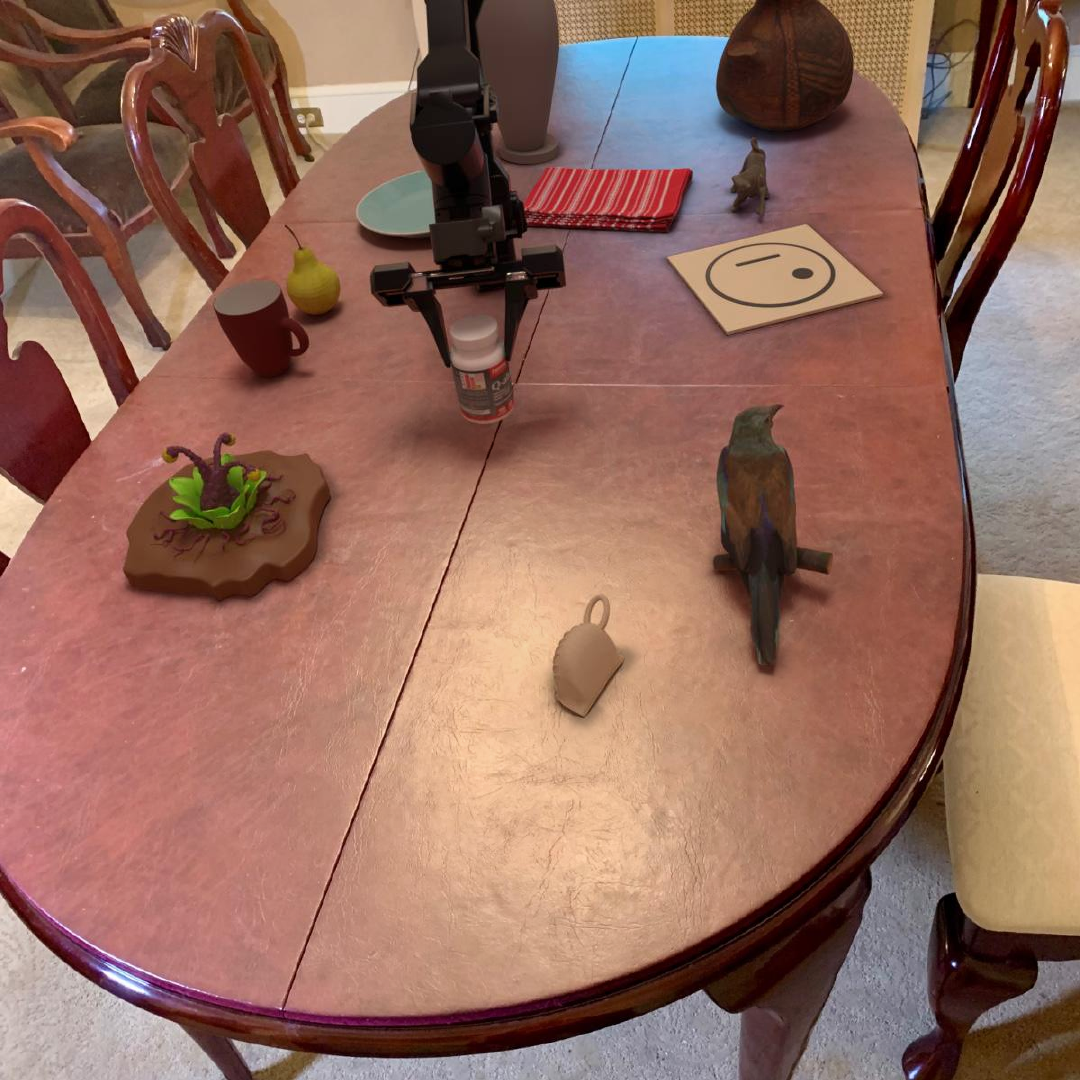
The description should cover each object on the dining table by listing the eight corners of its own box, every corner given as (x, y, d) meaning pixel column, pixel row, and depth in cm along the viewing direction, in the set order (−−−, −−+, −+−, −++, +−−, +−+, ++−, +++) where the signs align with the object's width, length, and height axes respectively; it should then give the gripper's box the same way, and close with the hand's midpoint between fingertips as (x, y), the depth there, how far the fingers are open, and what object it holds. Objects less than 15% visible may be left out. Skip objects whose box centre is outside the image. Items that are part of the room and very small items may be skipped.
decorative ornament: (540, 698, 76) (533, 657, 73) (594, 629, 81) (590, 587, 77) (582, 719, 75) (577, 678, 71) (635, 647, 79) (632, 605, 75)
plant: (170, 471, 104) (128, 388, 96) (342, 460, 102) (314, 374, 94) (105, 608, 90) (50, 523, 82) (304, 597, 88) (266, 510, 80)
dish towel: (673, 234, 130) (673, 216, 128) (512, 227, 137) (510, 210, 135) (696, 179, 141) (696, 162, 139) (547, 176, 148) (545, 159, 146)
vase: (581, 142, 156) (561, -108, 132) (539, 174, 149) (510, -85, 124) (515, 133, 162) (485, -108, 138) (472, 163, 155) (432, -86, 130)
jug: (712, 97, 164) (716, -108, 143) (841, 89, 160) (864, -123, 139) (711, 148, 148) (715, -72, 128) (853, 141, 145) (881, -87, 124)
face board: (666, 260, 125) (666, 255, 124) (806, 227, 127) (806, 221, 127) (726, 335, 111) (727, 329, 110) (882, 296, 113) (883, 290, 112)
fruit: (356, 307, 125) (332, 222, 117) (316, 330, 122) (288, 245, 114) (325, 292, 129) (300, 209, 121) (285, 315, 126) (256, 231, 117)
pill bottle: (509, 426, 95) (495, 343, 88) (455, 426, 96) (437, 343, 89) (519, 392, 99) (506, 310, 92) (467, 392, 100) (451, 311, 93)
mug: (333, 352, 118) (311, 280, 111) (307, 390, 112) (282, 317, 105) (258, 349, 120) (232, 278, 113) (229, 386, 115) (200, 314, 108)
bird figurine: (842, 670, 74) (848, 416, 70) (715, 669, 76) (712, 421, 71) (821, 617, 87) (824, 400, 82) (713, 617, 89) (710, 405, 84)
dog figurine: (732, 185, 139) (733, 134, 133) (772, 185, 137) (775, 133, 132) (722, 223, 131) (724, 170, 125) (765, 224, 129) (768, 170, 124)
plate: (332, 244, 139) (327, 226, 137) (402, 179, 153) (398, 162, 151) (465, 257, 132) (462, 238, 130) (526, 188, 146) (524, 170, 144)
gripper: (347, 186, 85) (364, 358, 85) (553, 161, 83) (570, 336, 83) (376, 227, 96) (391, 379, 96) (558, 205, 95) (573, 359, 95)
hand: (477, 364), depth 92 cm, fingers closed on pill bottle, 6 cm apart
